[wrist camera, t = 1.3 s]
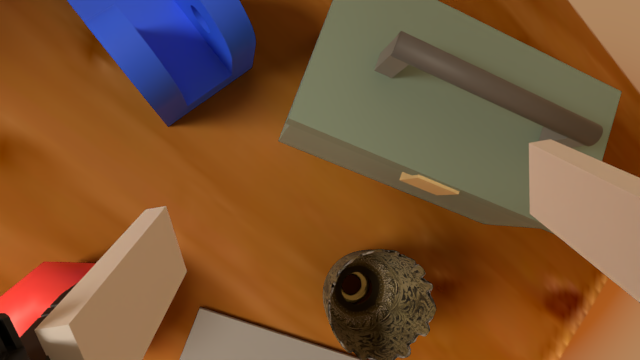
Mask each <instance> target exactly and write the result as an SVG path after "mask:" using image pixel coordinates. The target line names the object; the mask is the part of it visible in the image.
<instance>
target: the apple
mask: <svg viewBox="0 0 640 360" xmlns="http://www.w3.org/2000/svg"><path fill="white" fill-rule="evenodd" d="M94 265H95V263H71V262H43V263H42V264H40V265H39V266H38V267H37V268H35V269H34V270H33V271H32V272H30V273H29V274H28V275H27V276H25V277H24V278H23V279H22V280H21V281H19V282H18V283H17V284H16V285H14V286H13V287H12V288H11V289H9V290H8V291H7V292H6V293H4V294H3V295H2V296H1V297H0V313H6V314H7V315H8V316H9V317H10V319H11V321H12V323H13V325H14V327H15V329H16V331H17V333H18V335H19V337H21V336H22V335H23V334H24V333H25V332H26V330H27V329H28V328H29V327H30V326H31V325H32V324H33V323H34V322H35V321H36V320H37V319H38V318H40V317H41V315H42V314H43V313H44V312H45V310H46V309H47V308H50V305H51V304H52V303H53V302H54V301H55V300H56V299H57V298H58V297H59V296H60V295H61V294H62V293H63V292H65V291H66V290H68V289H69V288H70V287H72V286H73V285H75V284H76V283H78V282H79V281H80V280H81V279H82V278H83V277H84V276H85V275H86V274H87V272H88V271H89V270H90V269H91V268H92V267H93V266H94Z"/></svg>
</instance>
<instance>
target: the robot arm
mask: <svg viewBox="0 0 640 360" xmlns="http://www.w3.org/2000/svg"><path fill="white" fill-rule="evenodd" d="M529 198H530V214H531V215H532V216H533V217H534V218H536V219H537V220H538V221H539V222H541V223H542V224H543V225H544V226H546V227H547V228H548V229H549V230H550V231H552V232H553V233H554V234H555V235H557V236H558V237H559V238H560V239H562V240H563V241H564V242H565V243H566V244H568V245H569V246H570V247H571V248H573V249H574V250H575V251H576V252H578V253H579V254H580V255H581V256H583V257H584V258H585V259H586V260H587V261H589V262H590V263H591V264H592V265H594V266H595V267H596V268H597V269H599V270H600V271H601V272H602V273H604V274H605V275H606V276H607V277H608V278H610V279H611V280H612V281H613V282H615V283H616V284H617V285H618V286H620V287H621V288H622V289H623V290H625V291H626V292H627V293H628V294H629V295H631V296H632V297H633V298H634V299H636V300H637V301H638V302H639V303H640V178H639V177H637V176H634V175H632V174H630V173H627V172H625V171H623V170H621V169H618V168H616V167H614V166H611V165H609V164H607V163H604V162H602V161H600V160H597V159H595V158H593V157H591V156H588V155H586V154H584V153H581V152H579V151H577V150H574V149H572V148H570V147H567V146H565V145H563V144H561V143H558V142H556V141H554V140H551V139H549V140H543V141H537V142H531V143H529ZM186 272H187V270H186V267H185V264H184V261H183V257H182V254H181V251H180V248H179V245H178V242H177V239H176V235H175V232H174V229H173V226H172V223H171V220H170V217H169V213H168V210H167V207H166V206H163V207H157V208H152V209H146V210H145V211H144V212H143V213H142V214H141V215H140V216H139V217H138V218H137V219H136V220H135V222H134V223H133V224H132V225H131V226H130V227H129V228H128V229H127V230H126V231H125V232H124V233H123V235H122V236H121V237H120V238H119V239H118V240H117V241H116V242H115V243H114V244H113V245H112V246H111V248H110V249H109V250H108V251H107V252H106V253H105V254H104V255H103V256H102V257H101V258H100V259H99V261H98V262H97V263H96V264H95V265H94V266H93V267H92V268H91V269H90V270H89V271H88V272H87V274H86V275H85V276H84V277H83V278H82V279H81V280H80V281H79V282H78V283H76V284H75V285H73V286H72V287H70V288H69V289H68V290H66V291H65V292H63V293H62V294H61V295H60V296H59V297H58V298H57V299H56V300H55V301H54V302H53V303H52V304H51V305H50V308H47V309H46V310H45V312H44V313H43V314H42V315H41V317H40V318H38V319H37V320H36V321H35V322H34V323H33V324H32V325H31V326H30V327H29V328H28V329H27V330H26V332H25V333H24V334H23V335H22V336H21V337H19V335H18V333H17V331H16V329H15V327H14V325H13V323H12V321H11V319H10V317H9V316H8V315H7V314H6V313H0V360H142V359H143V357H144V355H145V353H146V351H147V349H148V347H149V345H150V343H151V341H152V339H153V337H154V335H155V333H156V331H157V329H158V328H159V326H160V324H161V322H162V320H163V318H164V316H165V314H166V312H167V310H168V308H169V306H170V304H171V302H172V300H173V298H174V296H175V294H176V292H177V290H178V288H179V286H180V284H181V282H182V280H183V278H184V276H185V274H186Z"/></svg>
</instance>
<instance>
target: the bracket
mask: <svg viewBox="0 0 640 360" xmlns="http://www.w3.org/2000/svg"><path fill="white" fill-rule="evenodd" d="M67 1H68V2H69V4H70V5H71V6H72V7H73V9H74V10H75V11H76V12H77V14H78V15H79V16H80V17H81V19H82V20H83V21H84V23H85V24H86V25H87V27H88V28H89V29H90V30H91V32H92V33H93V34H94V35H95V37H96V38H97V39H98V40H99V42H100V43H101V44H102V45H103V47H104V48H105V49H106V50H107V52H108V53H109V54H110V55H111V57H112V58H113V59H114V60H115V62H116V63H117V64H118V65H119V67H120V68H121V69H122V70H123V72H124V73H125V74H126V75H127V77H128V78H129V79H130V80H131V82H132V83H133V84H134V85H135V87H136V88H137V89H138V90H139V92H140V93H141V94H142V95H143V96H144V98H145V99H146V100H147V101H148V103H149V104H150V105H151V106H152V108H153V109H154V110H155V111H156V113H157V114H158V115H159V116H160V117H161V119H162V120H163V121H164V122H165V123H166V125H167V126H168V127H169V126H170V125H172V124H173V123H174V122H176V121H177V120H179V119H180V118H181V117H183V116H184V115H186V114H187V113H189V112H190V111H191V110H193V109H194V108H196V107H197V106H198V105H200V104H201V103H203V102H204V101H206V100H207V99H208V98H210V97H211V96H213V95H214V94H216V93H217V92H218V91H220V90H221V89H223V88H224V87H225V86H227V85H228V84H230V83H231V82H233V81H234V80H235V79H237V78H238V77H240V76H241V75H242V74H244V73H245V72H247V71H248V70H250V69H251V68H252V66H253V59H254V52H255V46H256V38H255V34H254V30H253V27H252V25H251V22H250V20H249V18H248V16H247V14H246V12H245V10H244V8H243V6H242V4H241V3H240V1H239V0H67Z"/></svg>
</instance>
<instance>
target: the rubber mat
mask: <svg viewBox="0 0 640 360" xmlns="http://www.w3.org/2000/svg"><path fill="white" fill-rule="evenodd" d="M180 360H360V359H359V358H357V357H354V356H351V355H348V354H345V353H342V352H339V351H336V350H333V349H329V348H326V347H323V346H320V345H317V344H314V343H311V342H308V341H305V340H301V339H298V338H295V337H292V336H289V335H286V334H283V333H280V332H277V331H274V330H270V329H267V328H264V327H261V326H258V325H255V324H252V323H249V322H246V321H243V320H239V319H236V318H233V317H230V316H227V315H224V314H221V313H218V312H215V311H212V310H208V309H205V308H202V307H200V309H199V311H198V314H197V316H196V319H195V321H194V324H193V326H192V329H191V332H190V334H189V337H188V339H187V342H186V344H185V347H184V349H183V352H182V355H181V357H180Z"/></svg>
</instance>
